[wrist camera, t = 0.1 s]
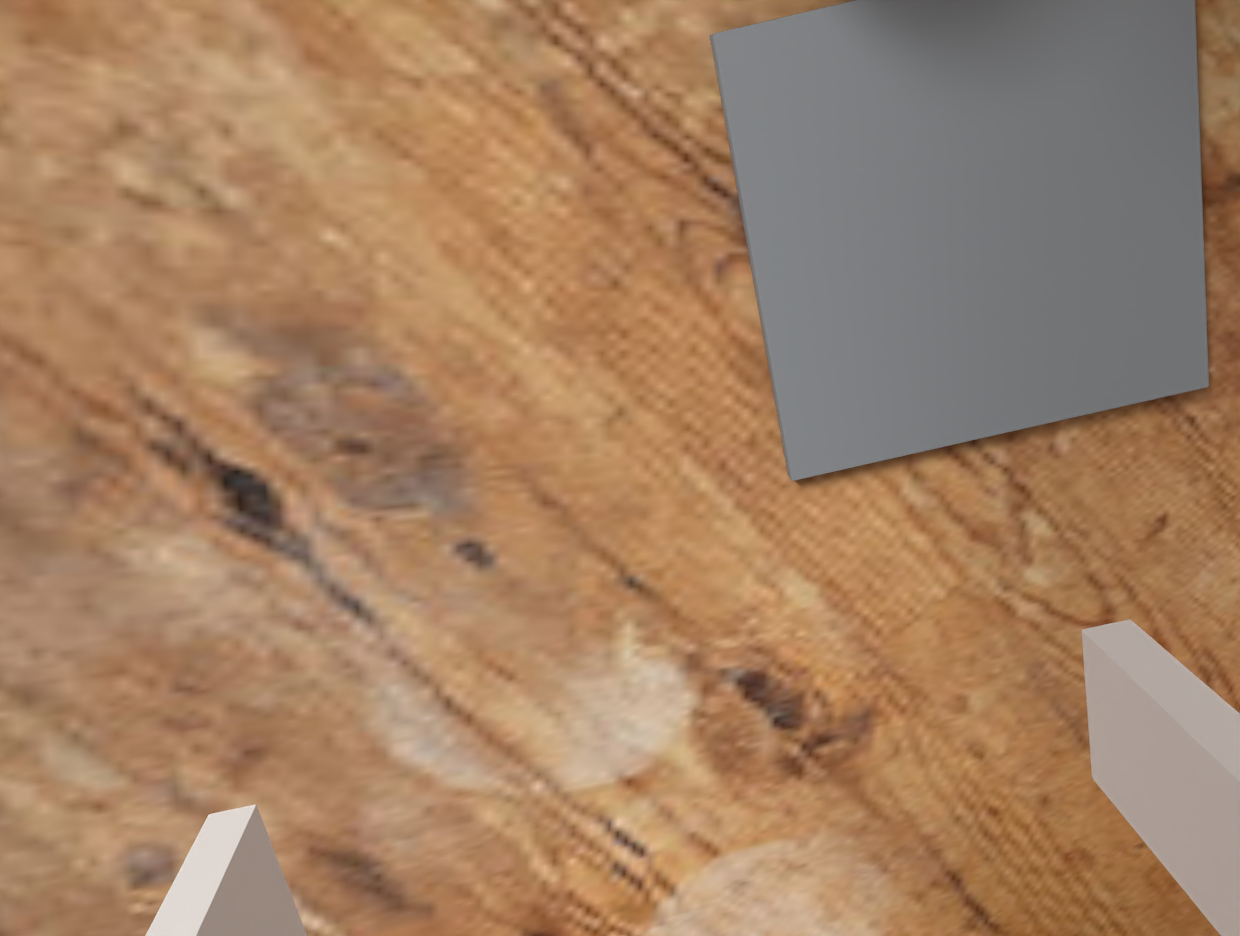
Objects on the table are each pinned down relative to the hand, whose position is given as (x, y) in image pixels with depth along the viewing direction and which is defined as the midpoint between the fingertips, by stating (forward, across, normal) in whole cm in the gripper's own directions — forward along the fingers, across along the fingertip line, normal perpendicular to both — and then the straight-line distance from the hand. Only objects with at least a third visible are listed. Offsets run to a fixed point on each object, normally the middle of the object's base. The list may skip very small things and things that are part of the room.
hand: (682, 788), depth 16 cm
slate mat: (+28, +16, +3) cm, 32 cm away
